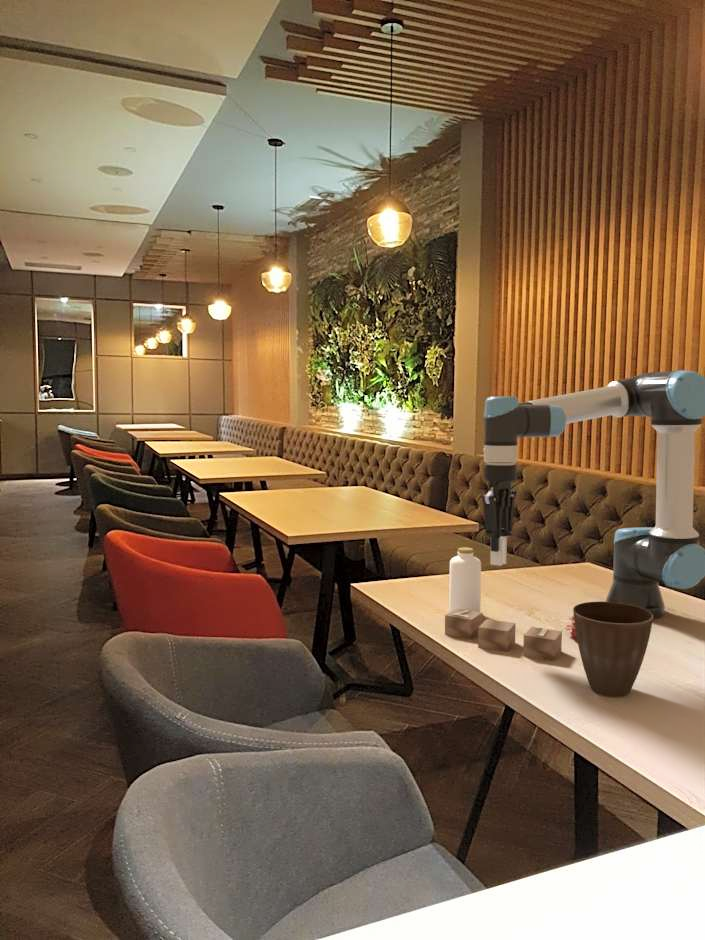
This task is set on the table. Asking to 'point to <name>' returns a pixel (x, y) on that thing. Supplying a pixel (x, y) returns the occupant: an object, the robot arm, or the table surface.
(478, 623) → the marked block seven
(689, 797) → the table surface
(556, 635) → the marked block one
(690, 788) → the table surface
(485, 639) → the plain block
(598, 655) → the plant pot
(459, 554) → the potion bottle
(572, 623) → the flower
